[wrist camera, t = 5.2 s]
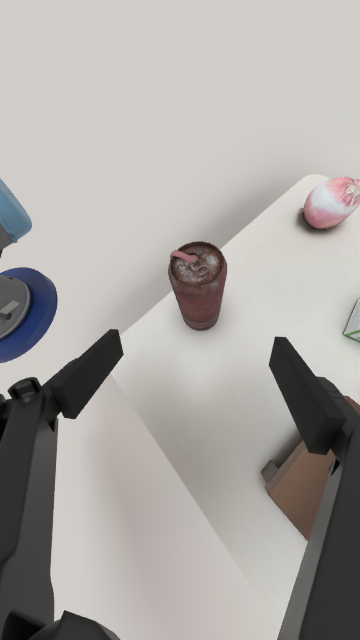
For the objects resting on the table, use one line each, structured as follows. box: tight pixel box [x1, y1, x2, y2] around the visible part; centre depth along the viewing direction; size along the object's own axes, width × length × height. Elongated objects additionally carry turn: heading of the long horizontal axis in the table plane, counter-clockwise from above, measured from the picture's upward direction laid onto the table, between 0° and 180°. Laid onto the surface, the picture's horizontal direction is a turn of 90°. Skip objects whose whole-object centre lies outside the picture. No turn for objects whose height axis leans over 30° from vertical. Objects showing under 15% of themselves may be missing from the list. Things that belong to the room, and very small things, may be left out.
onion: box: [300, 177, 360, 230], centre depth 30 cm, size 8×8×7 cm
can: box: [168, 241, 227, 330], centre depth 23 cm, size 6×6×14 cm
